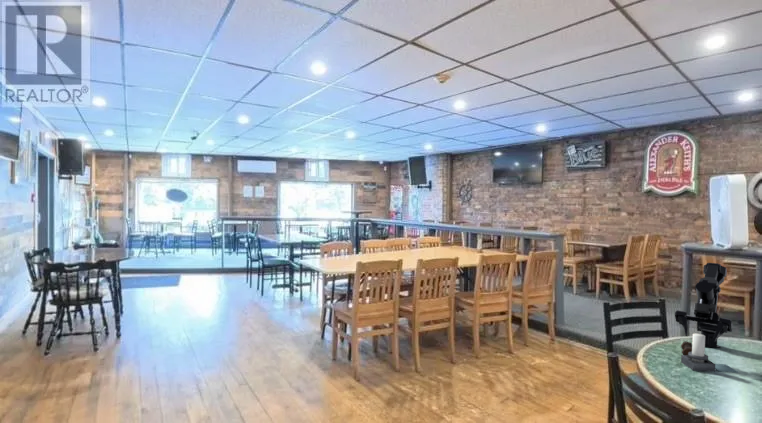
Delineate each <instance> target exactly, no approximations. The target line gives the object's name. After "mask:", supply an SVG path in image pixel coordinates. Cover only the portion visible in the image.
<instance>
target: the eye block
mask: <svg viewBox="0 0 762 423" xmlns="http://www.w3.org/2000/svg"><path fill="white" fill-rule="evenodd" d="M680 363H681V364H683V365H684V366H686V367H687V368H688V369H690V370H691V371H693V372H695V371H696V372H697V371H698V372H714V373H715V372H716V370H715V364H716V363H715V362H713V361H710V360H709V359H708V360H704V362H694V361H693V360H692V358H691V357H689V356H688V355H683V354H681V355H680Z"/></svg>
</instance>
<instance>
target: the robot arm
mask: <svg viewBox="0 0 762 423" xmlns="http://www.w3.org/2000/svg"><path fill="white" fill-rule="evenodd" d="M702 269H703V270H702V273H703V275H704V277H703V278H700V279H699V280H698V282H697V283H695V286H694V289H695V291H696V297H697V301H696V302H695V303H694V310H693V315H689V314H688V312H687V311H684V310H683V311H682V310H678V309H677V310H675V311H674V318H675V323H676V322H677V323H678V325H681V326H682V328H683V330H684V334H685V337H687V336H688V328H689V327H688V321H691V322H696V331H697V332H700V334H702V335H705V348H716V349H719V348H721V346H720V345H718V339H719V338H720V337H721V336H722V335H723V334H724V333H725V334H726V333H732V332H733V320H732V319H731V318H726V317H720V316H719V314H718V312H717V307H718V298H719V293H721V291H722V288H721V286H720V285H722V284H723V283H724V282H725V278H726V277H727V272H728V271H727V267H725V266H723V265H722V264H720V263H715V262H706V264H704V265H703V268H702Z"/></svg>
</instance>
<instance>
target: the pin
mask: <svg viewBox="0 0 762 423" xmlns="http://www.w3.org/2000/svg"><path fill="white" fill-rule="evenodd" d="M691 343H692V352H688V356H689V357H691V358H692V360H693V361H694V362H704V360H709V355H707V354H706V352H705V350H706V347H705V335H702V334H701V333H692V342H691Z"/></svg>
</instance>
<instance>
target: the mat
mask: <svg viewBox="0 0 762 423" xmlns="http://www.w3.org/2000/svg"><path fill="white" fill-rule="evenodd" d="M714 364H715V371H717V372H720V373H721V372H722V373H739V371H738V370H736V369H735V368H733V367H731V366H729V365H728V364H726V363H714Z"/></svg>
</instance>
